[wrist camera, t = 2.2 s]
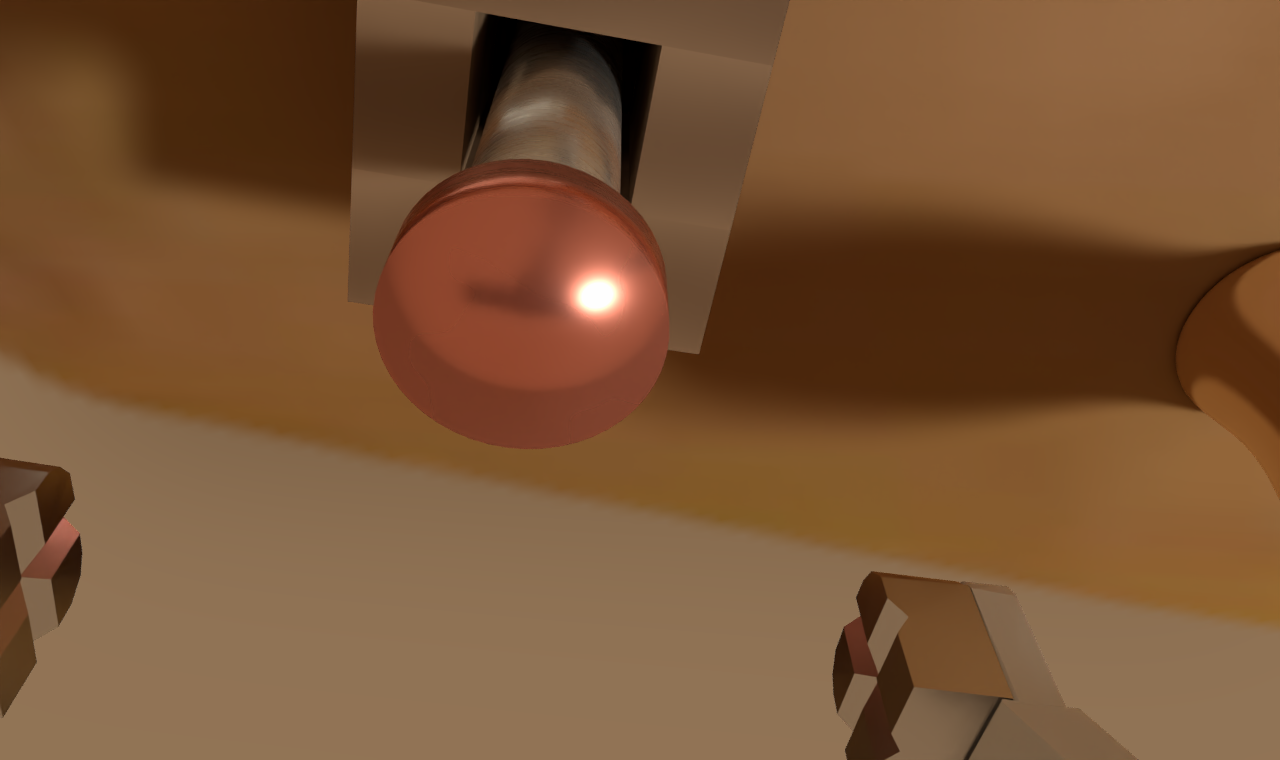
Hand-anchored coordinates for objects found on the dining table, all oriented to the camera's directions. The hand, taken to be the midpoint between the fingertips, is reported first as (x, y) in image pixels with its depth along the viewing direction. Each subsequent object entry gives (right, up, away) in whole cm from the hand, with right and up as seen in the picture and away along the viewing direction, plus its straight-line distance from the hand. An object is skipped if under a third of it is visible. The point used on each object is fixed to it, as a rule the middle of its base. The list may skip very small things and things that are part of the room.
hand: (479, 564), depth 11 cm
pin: (0, +11, +15) cm, 18 cm away
